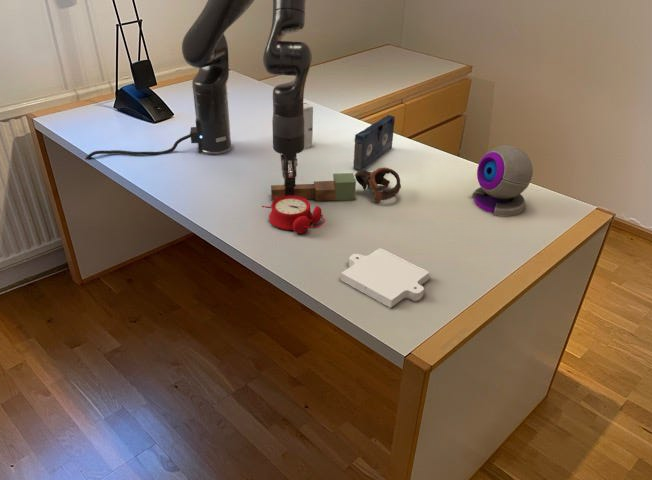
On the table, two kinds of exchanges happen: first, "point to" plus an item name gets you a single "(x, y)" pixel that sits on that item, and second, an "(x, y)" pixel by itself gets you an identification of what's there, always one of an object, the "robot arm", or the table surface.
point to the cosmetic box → (308, 124)
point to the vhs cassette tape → (373, 142)
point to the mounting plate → (385, 277)
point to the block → (344, 186)
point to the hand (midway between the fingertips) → (289, 195)
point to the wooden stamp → (308, 191)
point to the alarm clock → (294, 214)
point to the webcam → (503, 180)
